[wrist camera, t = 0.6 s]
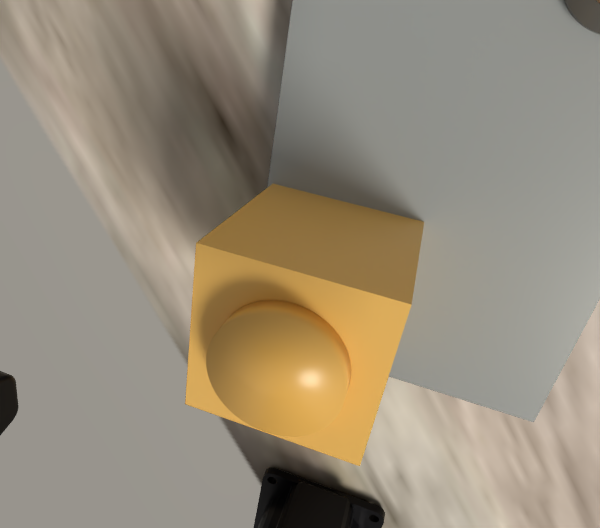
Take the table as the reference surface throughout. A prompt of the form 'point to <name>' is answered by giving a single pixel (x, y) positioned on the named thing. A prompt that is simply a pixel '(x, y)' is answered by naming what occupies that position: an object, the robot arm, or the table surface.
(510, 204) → the plate
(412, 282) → the domed push button
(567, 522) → the table surface
